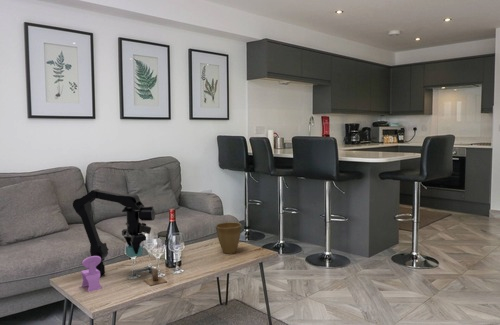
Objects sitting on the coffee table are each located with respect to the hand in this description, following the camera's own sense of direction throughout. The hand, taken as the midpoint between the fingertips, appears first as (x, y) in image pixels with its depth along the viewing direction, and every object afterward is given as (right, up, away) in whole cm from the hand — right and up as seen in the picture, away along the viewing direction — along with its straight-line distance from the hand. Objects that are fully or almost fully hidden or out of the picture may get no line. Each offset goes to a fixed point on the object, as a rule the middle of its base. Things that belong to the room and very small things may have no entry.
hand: (134, 252), depth 198 cm
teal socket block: (0, -1, 0) cm, 1 cm away
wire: (+5, -12, +1) cm, 13 cm away
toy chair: (-15, -13, -14) cm, 24 cm away
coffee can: (+10, -10, +30) cm, 33 cm away
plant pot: (+44, -9, +39) cm, 59 cm away
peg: (+12, -12, -8) cm, 19 cm away
